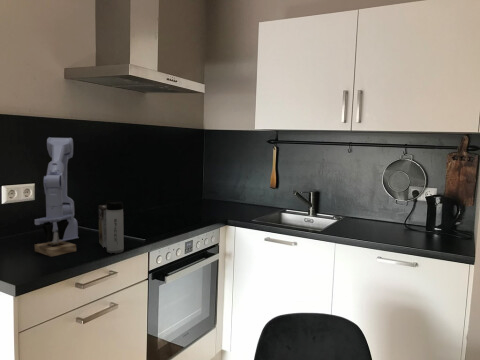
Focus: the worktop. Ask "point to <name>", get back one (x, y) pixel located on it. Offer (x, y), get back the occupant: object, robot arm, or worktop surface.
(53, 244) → the metal peg
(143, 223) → the worktop surface
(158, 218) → the worktop surface
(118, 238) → the travel mug
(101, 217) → the coffee box
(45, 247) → the socket plate
